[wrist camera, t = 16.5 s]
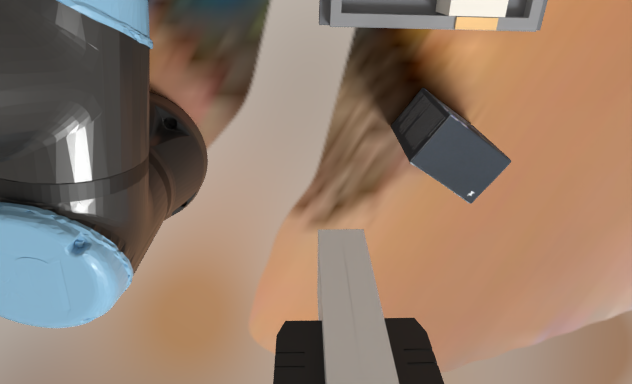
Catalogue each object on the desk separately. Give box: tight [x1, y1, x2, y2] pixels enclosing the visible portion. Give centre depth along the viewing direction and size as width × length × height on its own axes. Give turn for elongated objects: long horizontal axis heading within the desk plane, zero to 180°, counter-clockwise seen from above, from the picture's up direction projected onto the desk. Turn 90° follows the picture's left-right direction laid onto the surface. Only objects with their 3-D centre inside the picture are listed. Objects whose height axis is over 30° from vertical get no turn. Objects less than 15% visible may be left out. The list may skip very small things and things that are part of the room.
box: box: [391, 88, 511, 203], centre depth 44 cm, size 8×6×11 cm
